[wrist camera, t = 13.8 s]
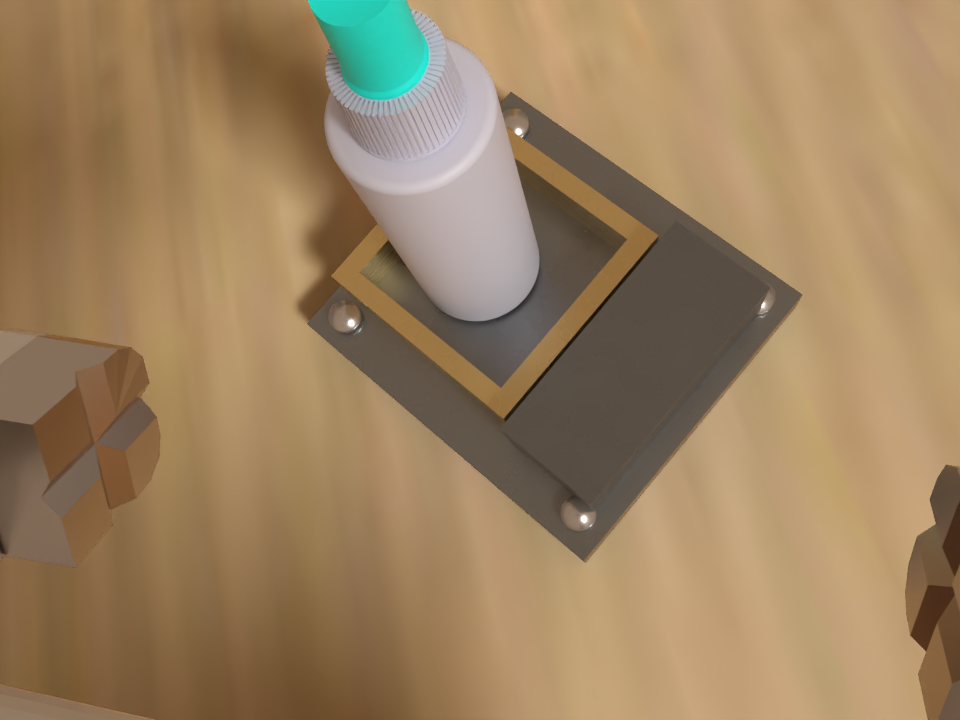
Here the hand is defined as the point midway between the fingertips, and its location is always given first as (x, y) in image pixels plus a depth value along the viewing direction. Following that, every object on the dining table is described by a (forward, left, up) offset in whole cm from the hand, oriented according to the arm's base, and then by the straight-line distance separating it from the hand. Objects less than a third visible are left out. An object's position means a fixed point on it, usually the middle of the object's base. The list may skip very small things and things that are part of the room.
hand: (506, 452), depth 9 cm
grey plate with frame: (+7, +10, -35) cm, 37 cm away
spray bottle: (+7, +14, -34) cm, 37 cm away
